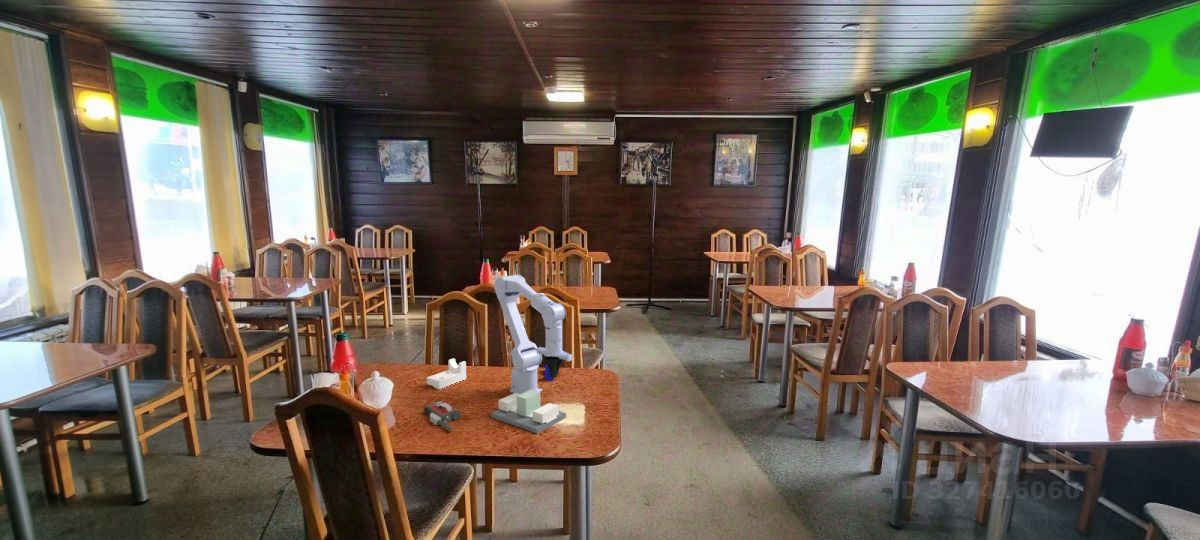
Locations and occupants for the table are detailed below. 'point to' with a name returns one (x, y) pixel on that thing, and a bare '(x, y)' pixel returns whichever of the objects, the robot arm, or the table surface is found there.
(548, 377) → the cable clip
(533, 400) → the module block
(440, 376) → the bracket
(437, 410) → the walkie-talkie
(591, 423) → the table surface
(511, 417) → the mounting plate
